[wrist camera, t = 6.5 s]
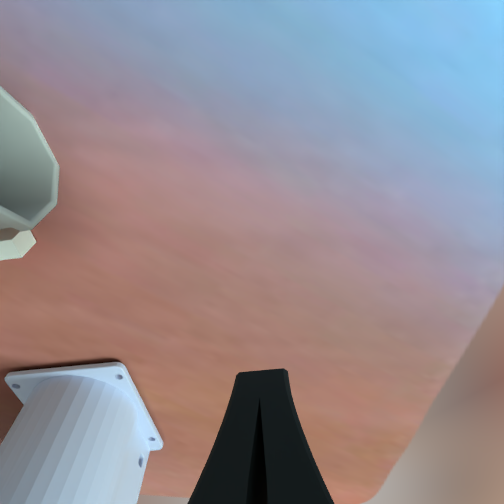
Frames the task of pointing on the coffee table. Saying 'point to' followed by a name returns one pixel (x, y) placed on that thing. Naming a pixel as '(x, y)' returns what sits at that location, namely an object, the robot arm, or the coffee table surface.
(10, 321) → the coffee table surface
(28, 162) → the tube
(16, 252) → the rails
